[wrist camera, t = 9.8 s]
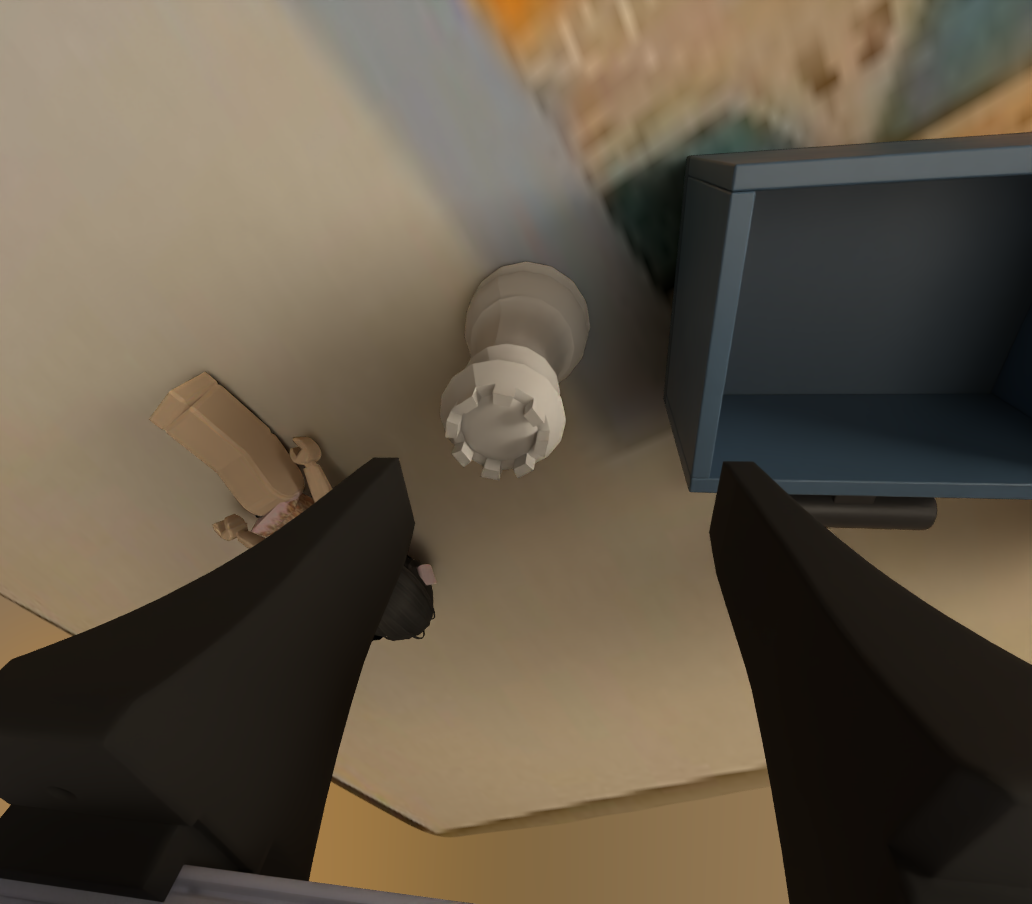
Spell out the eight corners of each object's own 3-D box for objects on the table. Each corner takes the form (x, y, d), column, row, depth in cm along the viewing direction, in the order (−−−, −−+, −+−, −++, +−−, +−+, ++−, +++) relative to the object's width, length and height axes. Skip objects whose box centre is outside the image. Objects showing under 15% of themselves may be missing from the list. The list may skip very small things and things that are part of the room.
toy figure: (159, 443, 25) (391, 615, 29) (46, 518, 19) (354, 715, 24) (234, 347, 22) (477, 552, 27) (127, 401, 17) (456, 648, 21)
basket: (1114, 126, 13) (1428, 118, 8) (956, 468, 19) (1087, 586, 14) (686, 155, 15) (734, 163, 10) (656, 463, 21) (678, 569, 16)
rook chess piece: (448, 288, 18) (369, 391, 12) (562, 236, 17) (545, 322, 10) (501, 390, 21) (460, 525, 14) (607, 351, 19) (615, 483, 13)
